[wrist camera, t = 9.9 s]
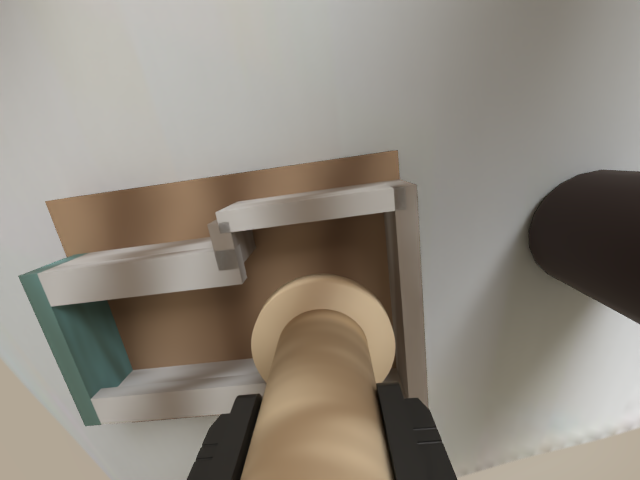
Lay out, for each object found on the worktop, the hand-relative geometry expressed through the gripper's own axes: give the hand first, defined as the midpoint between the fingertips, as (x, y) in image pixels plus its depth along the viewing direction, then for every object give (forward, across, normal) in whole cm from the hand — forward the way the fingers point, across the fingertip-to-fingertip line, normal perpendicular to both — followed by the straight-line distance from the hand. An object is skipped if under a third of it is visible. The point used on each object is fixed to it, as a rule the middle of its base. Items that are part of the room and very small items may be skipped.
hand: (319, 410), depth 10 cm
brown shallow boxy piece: (+10, +5, 0) cm, 11 cm away
